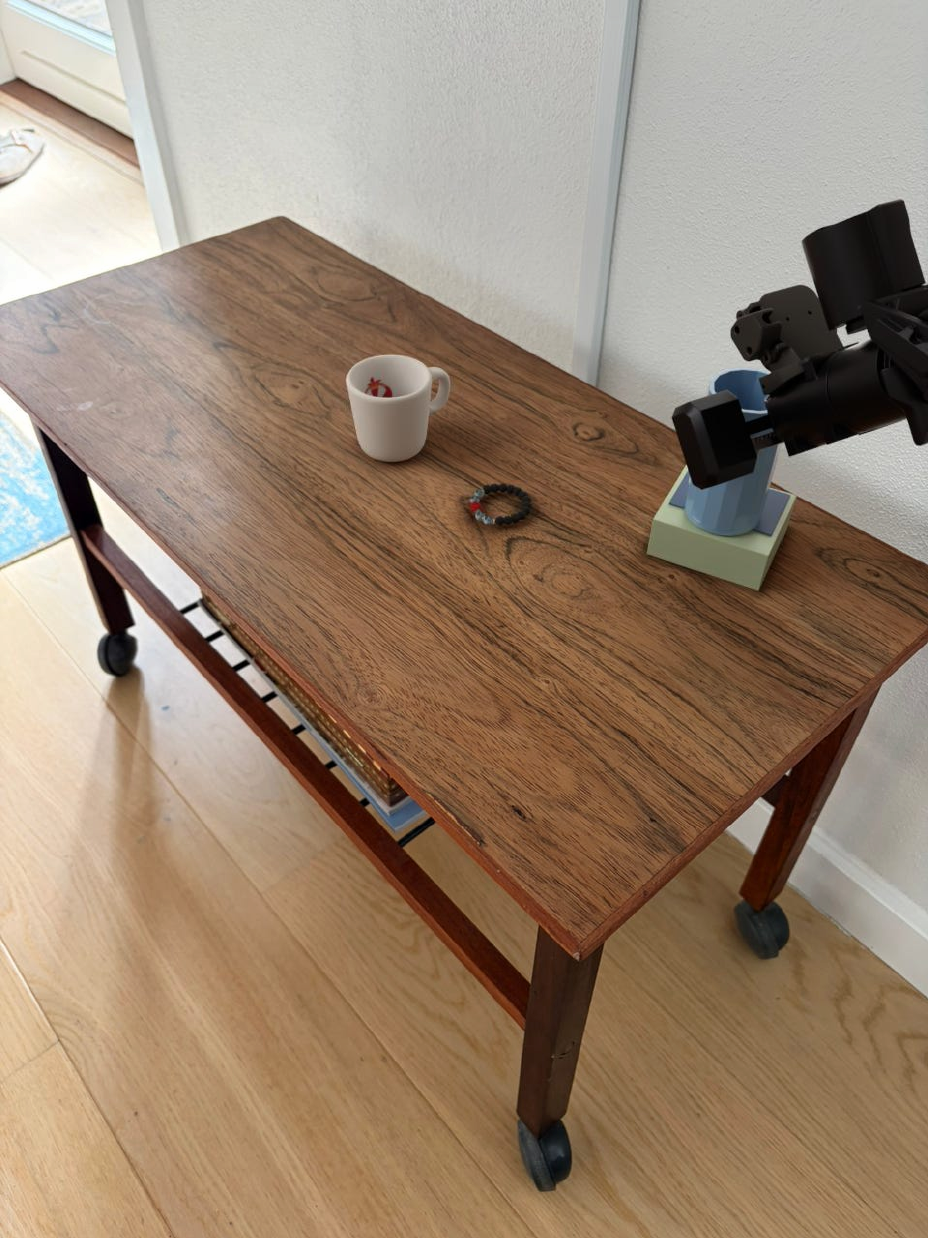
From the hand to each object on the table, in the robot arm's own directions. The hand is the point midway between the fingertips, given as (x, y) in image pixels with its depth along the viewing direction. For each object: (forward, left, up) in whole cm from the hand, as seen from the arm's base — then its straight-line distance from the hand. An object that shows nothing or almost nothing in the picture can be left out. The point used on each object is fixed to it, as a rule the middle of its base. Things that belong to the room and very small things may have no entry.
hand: (727, 438), depth 83 cm
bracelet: (+18, +5, -11) cm, 21 cm away
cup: (+31, 0, -11) cm, 33 cm away
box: (-1, 0, -11) cm, 11 cm away
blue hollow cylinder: (-1, +1, -7) cm, 7 cm away
